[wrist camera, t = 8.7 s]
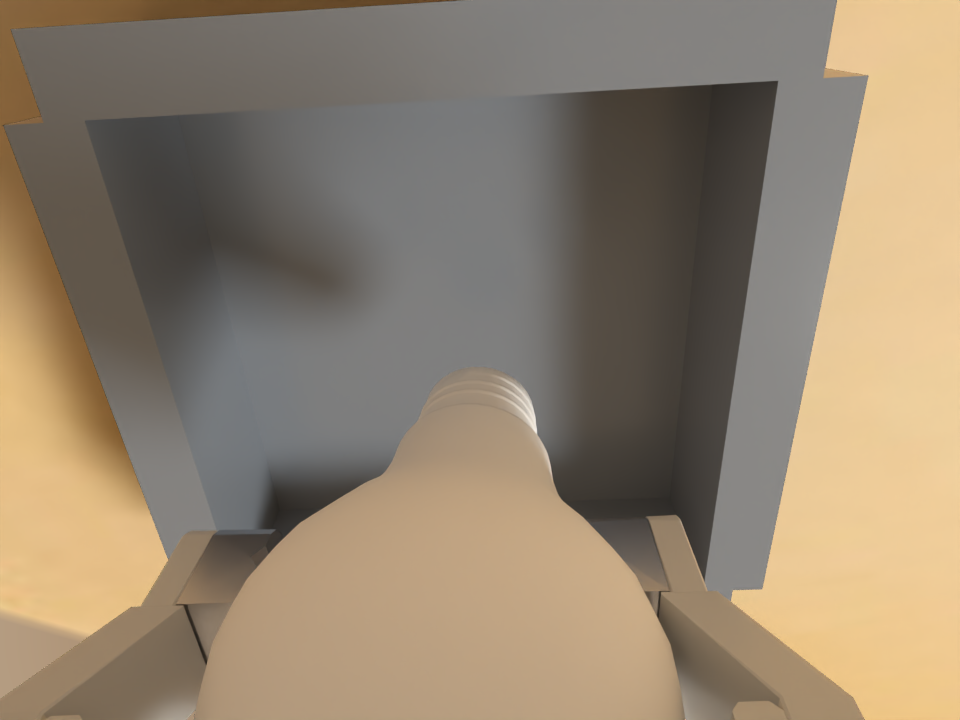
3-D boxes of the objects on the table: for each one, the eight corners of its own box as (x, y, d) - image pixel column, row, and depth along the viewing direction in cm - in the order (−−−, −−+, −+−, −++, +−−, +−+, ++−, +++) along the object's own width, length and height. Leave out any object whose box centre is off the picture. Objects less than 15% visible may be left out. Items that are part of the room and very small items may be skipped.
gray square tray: (785, -17, 15) (889, -28, 11) (708, 520, 23) (754, 629, 19) (100, 26, 16) (-33, 31, 12) (249, 534, 23) (199, 641, 19)
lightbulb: (536, 529, 17) (545, 1172, 8) (322, 441, 17) (27, 1041, 7) (661, 347, 15) (919, 983, 5) (413, 229, 14) (139, 725, 4)
